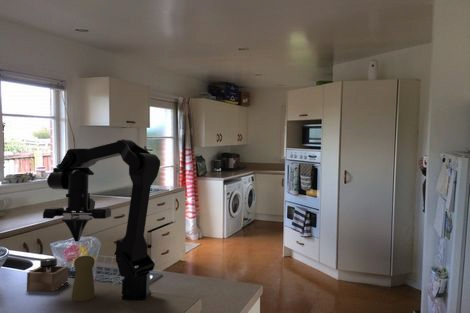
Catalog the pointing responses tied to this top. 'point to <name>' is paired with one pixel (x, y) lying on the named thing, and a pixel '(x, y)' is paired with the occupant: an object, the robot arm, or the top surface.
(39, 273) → the wooden box
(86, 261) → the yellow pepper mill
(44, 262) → the plunger
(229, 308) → the top surface
